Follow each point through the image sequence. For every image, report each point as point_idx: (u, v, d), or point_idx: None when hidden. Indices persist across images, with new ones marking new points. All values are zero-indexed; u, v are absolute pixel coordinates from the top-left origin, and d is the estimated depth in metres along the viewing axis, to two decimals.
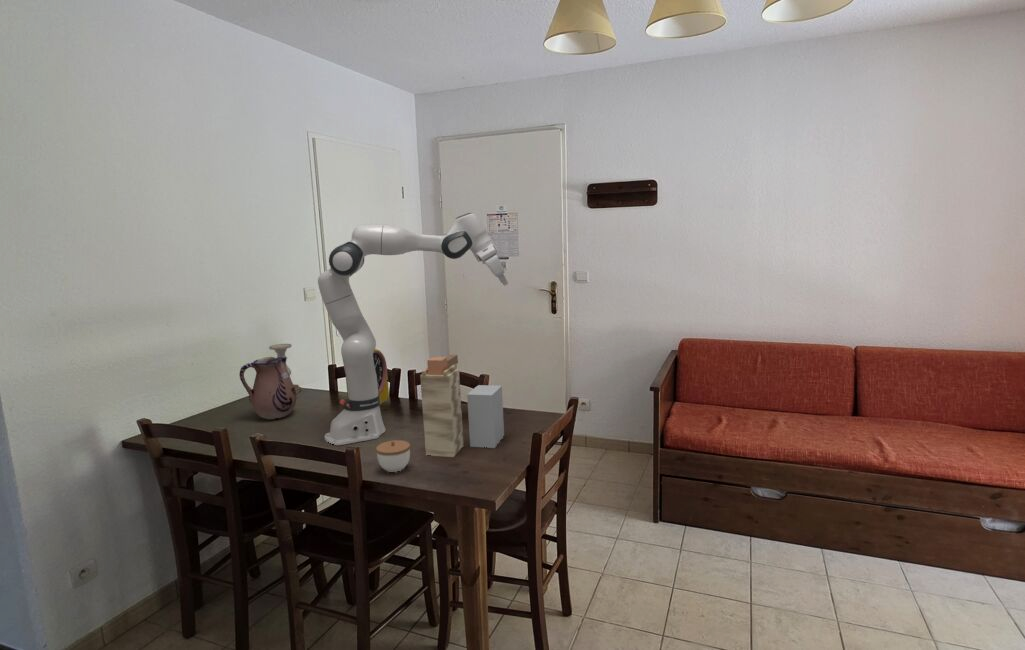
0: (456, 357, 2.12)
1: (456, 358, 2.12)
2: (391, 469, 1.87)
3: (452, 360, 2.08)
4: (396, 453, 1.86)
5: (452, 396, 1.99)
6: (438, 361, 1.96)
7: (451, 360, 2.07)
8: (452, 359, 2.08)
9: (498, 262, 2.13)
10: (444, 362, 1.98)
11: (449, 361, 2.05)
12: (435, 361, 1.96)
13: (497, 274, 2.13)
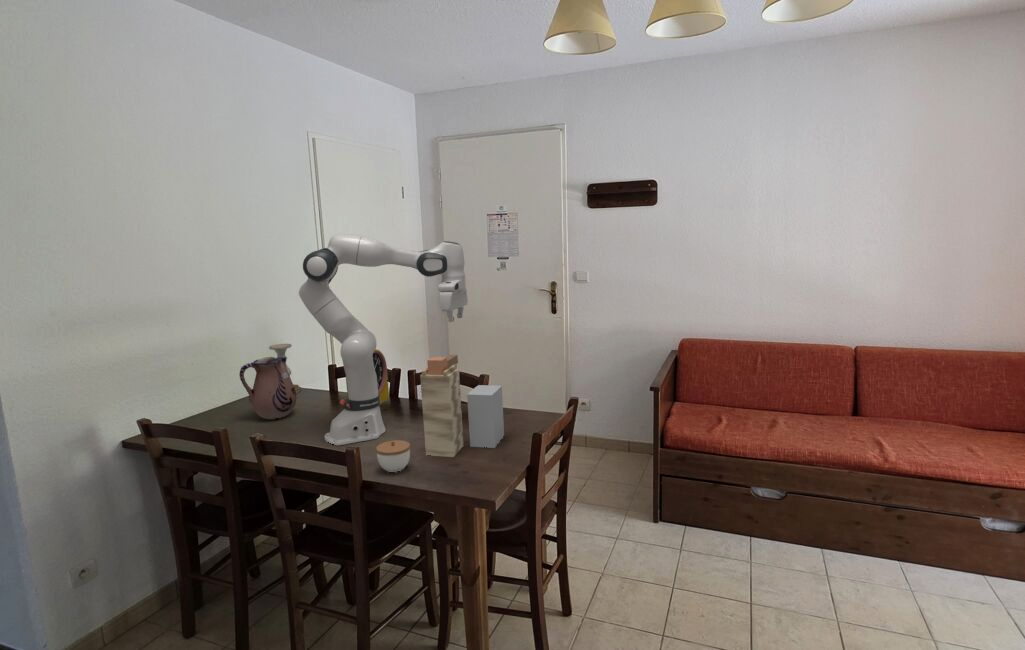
0: (456, 357, 2.12)
1: (456, 358, 2.12)
2: (391, 469, 1.87)
3: (452, 360, 2.08)
4: (396, 453, 1.86)
5: (452, 396, 1.99)
6: (438, 361, 1.96)
7: (451, 360, 2.07)
8: (452, 359, 2.08)
9: (449, 299, 2.17)
10: (444, 362, 1.98)
11: (449, 361, 2.05)
12: (435, 361, 1.96)
13: (443, 309, 2.18)
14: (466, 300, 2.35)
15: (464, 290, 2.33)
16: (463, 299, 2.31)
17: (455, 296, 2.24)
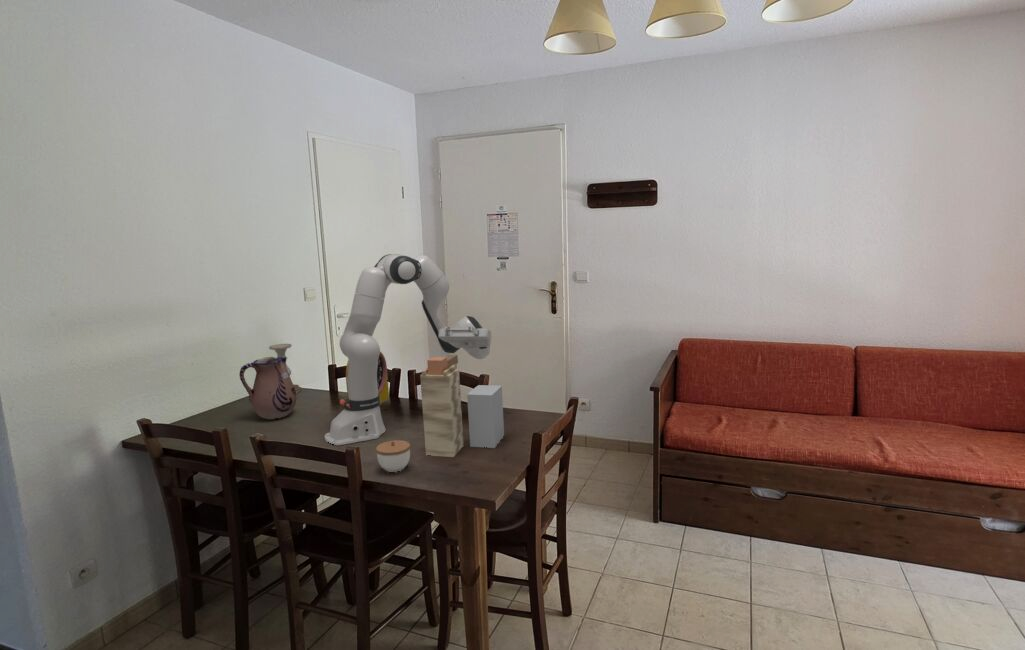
0: (456, 357, 2.12)
1: (456, 358, 2.12)
2: (391, 469, 1.87)
3: (452, 360, 2.08)
4: (396, 453, 1.86)
5: (452, 396, 1.99)
6: (438, 361, 1.96)
7: (451, 360, 2.07)
8: (452, 359, 2.08)
9: (489, 340, 2.27)
10: (444, 362, 1.98)
11: (449, 361, 2.05)
12: (435, 361, 1.96)
13: (488, 330, 2.24)
14: (443, 338, 2.29)
15: (451, 341, 2.33)
16: (452, 339, 2.29)
17: (473, 340, 2.29)
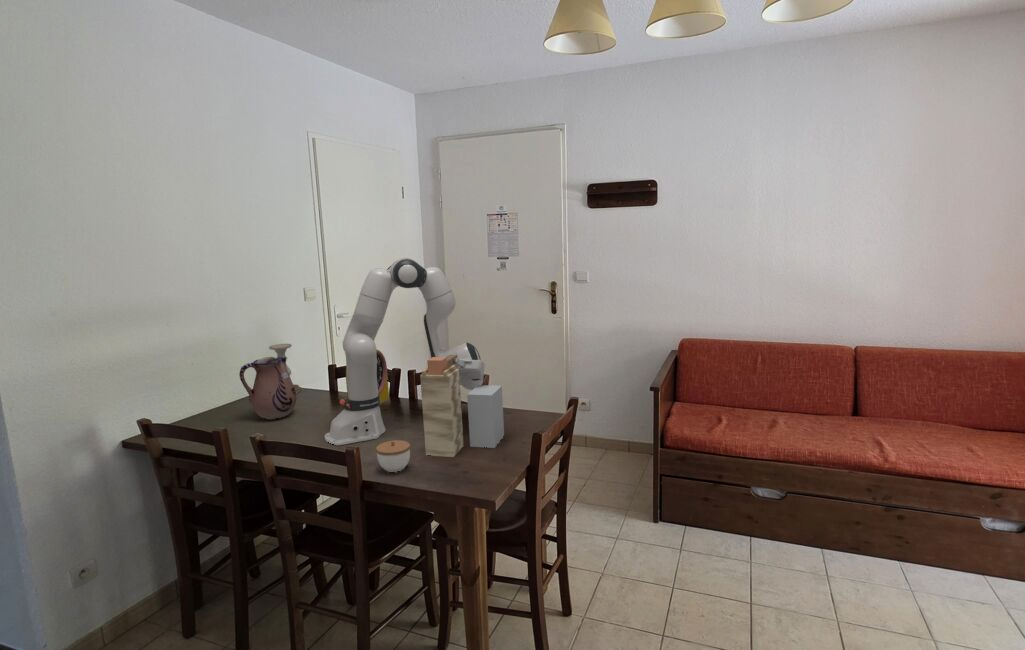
0: (456, 357, 2.12)
1: None
2: (391, 469, 1.87)
3: (452, 360, 2.08)
4: (396, 453, 1.86)
5: (452, 396, 1.99)
6: (438, 361, 1.96)
7: (451, 360, 2.07)
8: (452, 359, 2.08)
9: (482, 372, 2.14)
10: (444, 362, 1.98)
11: (449, 361, 2.05)
12: (435, 361, 1.96)
13: (481, 362, 2.12)
14: None
15: None
16: None
17: (465, 371, 2.16)
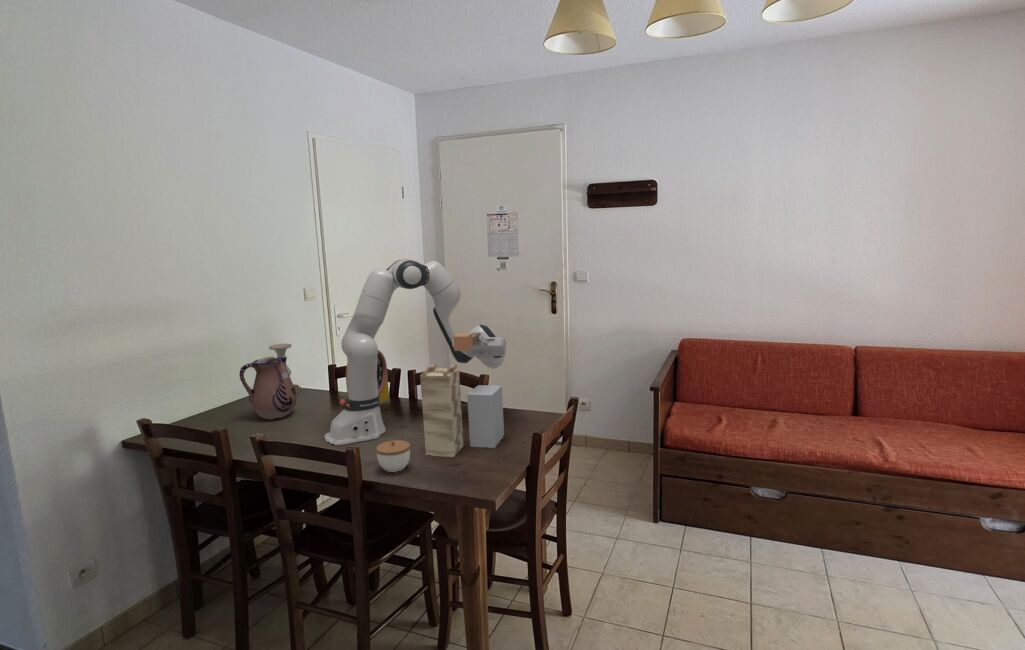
0: (479, 335, 2.19)
1: None
2: (391, 469, 1.87)
3: (476, 337, 2.15)
4: (396, 453, 1.86)
5: (452, 396, 1.99)
6: (464, 337, 2.03)
7: (475, 337, 2.14)
8: (476, 336, 2.15)
9: (504, 349, 2.21)
10: (470, 338, 2.05)
11: (473, 338, 2.12)
12: (461, 337, 2.03)
13: (503, 339, 2.19)
14: None
15: None
16: None
17: (488, 349, 2.24)
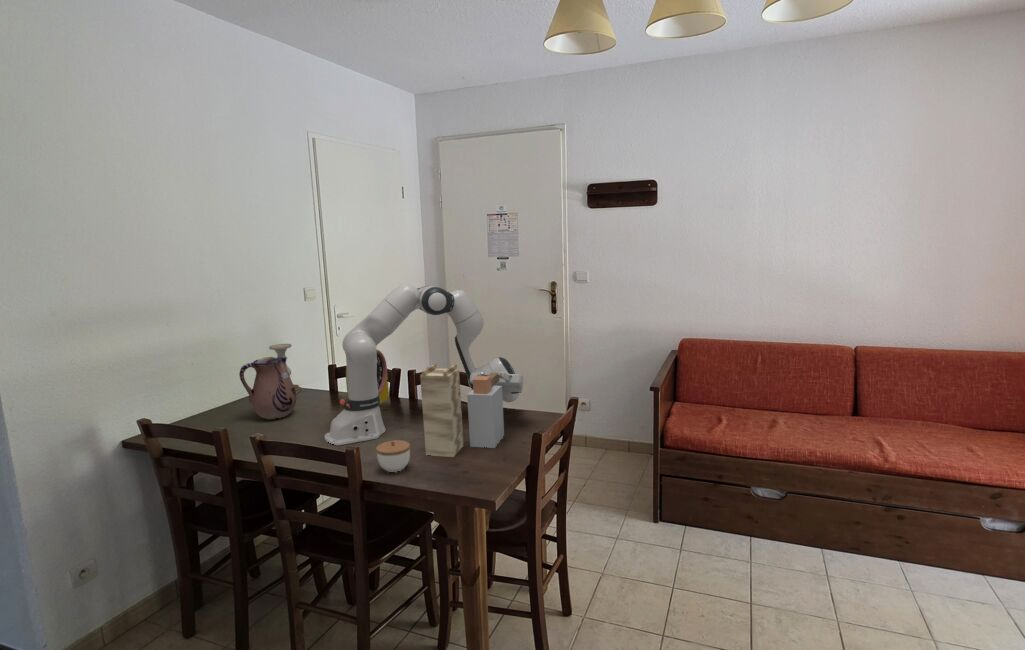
0: (497, 375, 2.20)
1: (497, 377, 2.20)
2: (391, 469, 1.87)
3: (494, 378, 2.16)
4: (396, 453, 1.86)
5: (452, 396, 1.99)
6: (483, 380, 2.04)
7: (493, 378, 2.15)
8: (494, 377, 2.16)
9: (522, 385, 2.22)
10: (489, 381, 2.06)
11: (492, 380, 2.13)
12: (480, 380, 2.04)
13: (521, 376, 2.19)
14: None
15: None
16: None
17: None
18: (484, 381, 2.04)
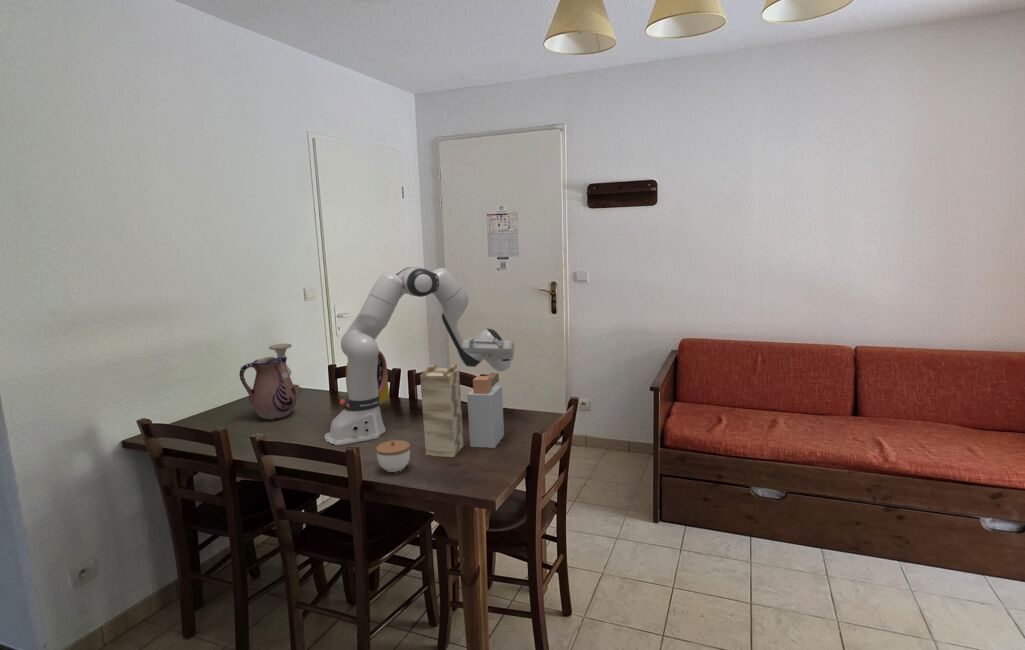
0: (497, 375, 2.20)
1: (497, 377, 2.20)
2: (391, 469, 1.87)
3: (494, 378, 2.16)
4: (396, 453, 1.86)
5: (452, 396, 1.99)
6: (483, 380, 2.04)
7: (493, 378, 2.15)
8: (494, 377, 2.16)
9: (513, 352, 2.26)
10: (489, 381, 2.06)
11: (492, 380, 2.13)
12: (480, 380, 2.04)
13: (512, 343, 2.24)
14: (466, 349, 2.29)
15: (474, 353, 2.32)
16: (475, 350, 2.29)
17: (496, 352, 2.28)
18: (484, 381, 2.04)
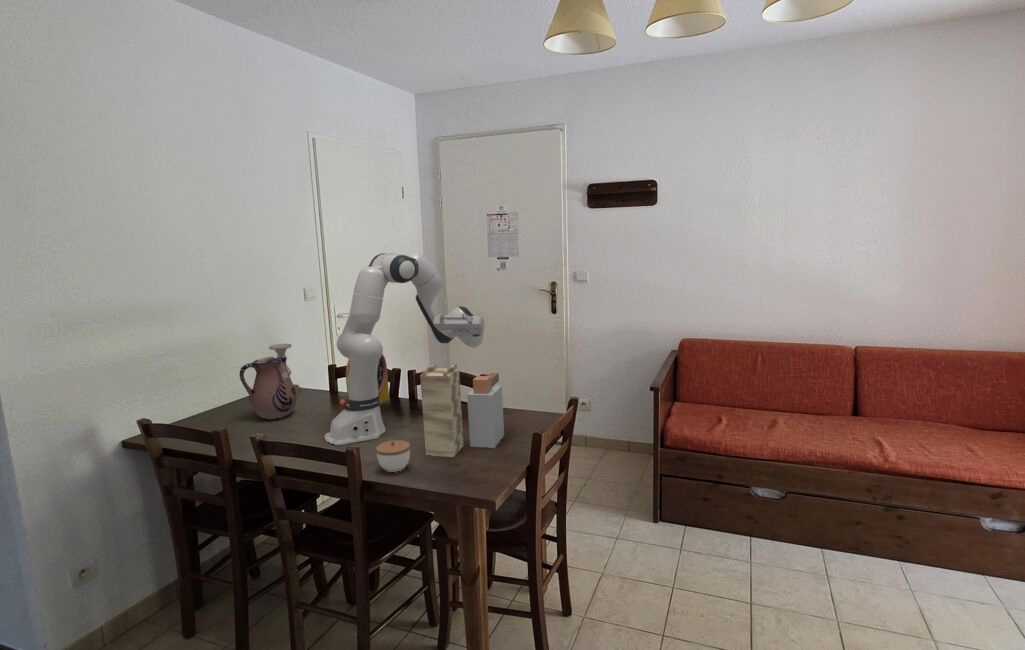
0: (497, 375, 2.20)
1: (497, 377, 2.20)
2: (391, 469, 1.87)
3: (494, 378, 2.16)
4: (396, 453, 1.86)
5: (452, 396, 1.99)
6: (483, 380, 2.04)
7: (493, 378, 2.15)
8: (494, 377, 2.16)
9: (482, 327, 2.34)
10: (489, 381, 2.06)
11: (492, 380, 2.13)
12: (480, 380, 2.04)
13: (481, 318, 2.32)
14: (437, 325, 2.37)
15: (445, 329, 2.40)
16: (446, 326, 2.37)
17: (466, 327, 2.36)
18: (484, 381, 2.04)
